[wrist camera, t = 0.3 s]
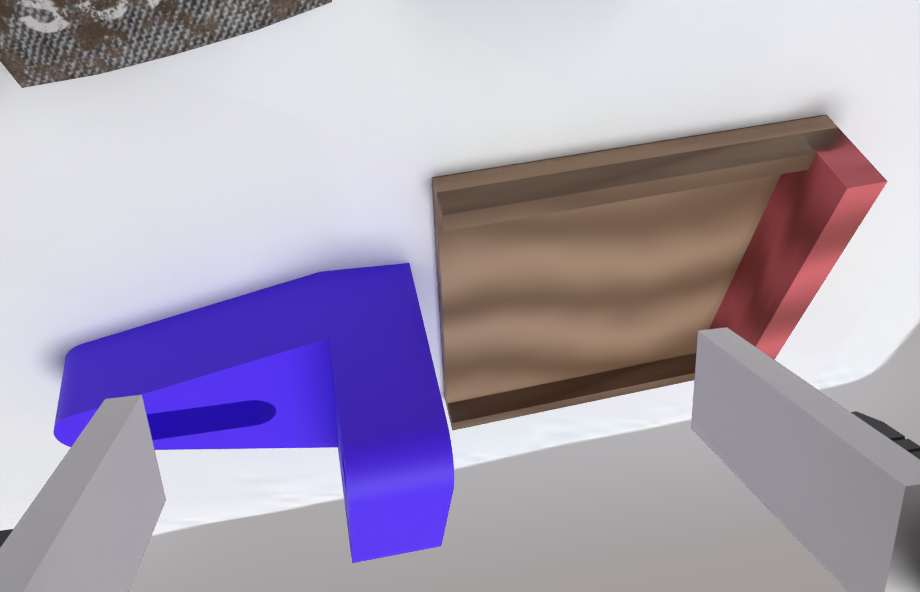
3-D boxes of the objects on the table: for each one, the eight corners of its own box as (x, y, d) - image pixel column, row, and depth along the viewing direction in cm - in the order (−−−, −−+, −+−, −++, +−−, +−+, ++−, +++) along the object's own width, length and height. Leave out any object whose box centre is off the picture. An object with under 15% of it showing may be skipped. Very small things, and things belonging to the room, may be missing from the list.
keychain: (342, 27, 25) (348, 57, 24) (-156, 165, 25) (-175, 202, 24) (259, -223, 19) (262, -200, 18) (-401, -41, 19) (-443, -5, 18)
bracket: (408, 261, 36) (458, 468, 28) (402, 376, 44) (438, 558, 37) (27, 298, 32) (-28, 549, 24) (99, 416, 40) (73, 629, 33)
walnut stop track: (432, 178, 31) (455, 257, 28) (826, 115, 34) (887, 181, 31) (444, 398, 47) (460, 464, 44) (714, 344, 49) (746, 403, 46)
